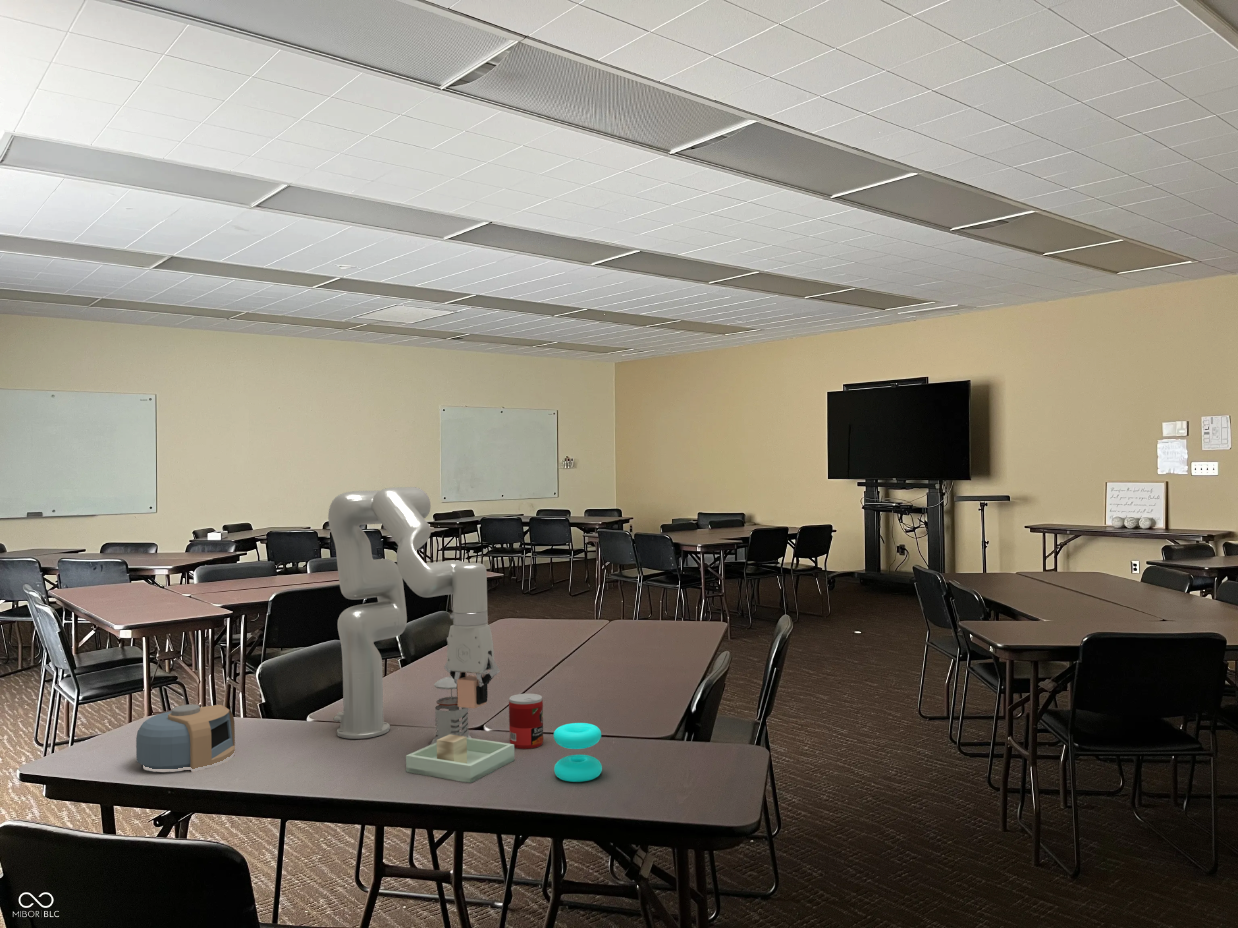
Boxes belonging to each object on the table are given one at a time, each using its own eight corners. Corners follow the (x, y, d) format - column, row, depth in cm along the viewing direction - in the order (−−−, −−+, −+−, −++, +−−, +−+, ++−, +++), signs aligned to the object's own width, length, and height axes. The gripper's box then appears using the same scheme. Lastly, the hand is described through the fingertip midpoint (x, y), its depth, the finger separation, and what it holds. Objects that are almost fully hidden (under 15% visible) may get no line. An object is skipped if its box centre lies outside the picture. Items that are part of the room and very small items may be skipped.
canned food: (538, 749, 202) (537, 701, 203) (505, 748, 204) (504, 700, 204) (547, 740, 210) (546, 693, 210) (515, 738, 212) (514, 692, 212)
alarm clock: (207, 774, 190) (206, 718, 190) (117, 774, 191) (116, 718, 191) (249, 747, 209) (248, 696, 209) (167, 747, 210) (166, 696, 210)
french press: (423, 744, 208) (421, 638, 208) (450, 731, 219) (448, 630, 219) (458, 748, 204) (456, 640, 205) (484, 734, 215) (482, 632, 216)
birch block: (437, 768, 188) (436, 739, 188) (450, 761, 192) (449, 734, 192) (454, 770, 186) (453, 742, 186) (467, 764, 190) (466, 736, 190)
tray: (406, 771, 189) (406, 755, 189) (452, 750, 203) (452, 735, 203) (470, 782, 181) (470, 765, 181) (514, 760, 195) (514, 744, 195)
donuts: (571, 718, 192) (610, 724, 186) (572, 765, 191) (611, 772, 186) (543, 730, 183) (583, 737, 178) (544, 778, 183) (584, 786, 178)
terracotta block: (457, 706, 194) (457, 679, 194) (470, 701, 198) (469, 674, 198) (474, 708, 192) (473, 680, 192) (486, 703, 196) (486, 676, 196)
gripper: (429, 619, 196) (431, 702, 196) (491, 623, 188) (493, 709, 188) (450, 615, 203) (452, 694, 202) (511, 618, 195) (513, 701, 195)
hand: (472, 701), depth 195 cm, fingers closed on terracotta block, 4 cm apart
